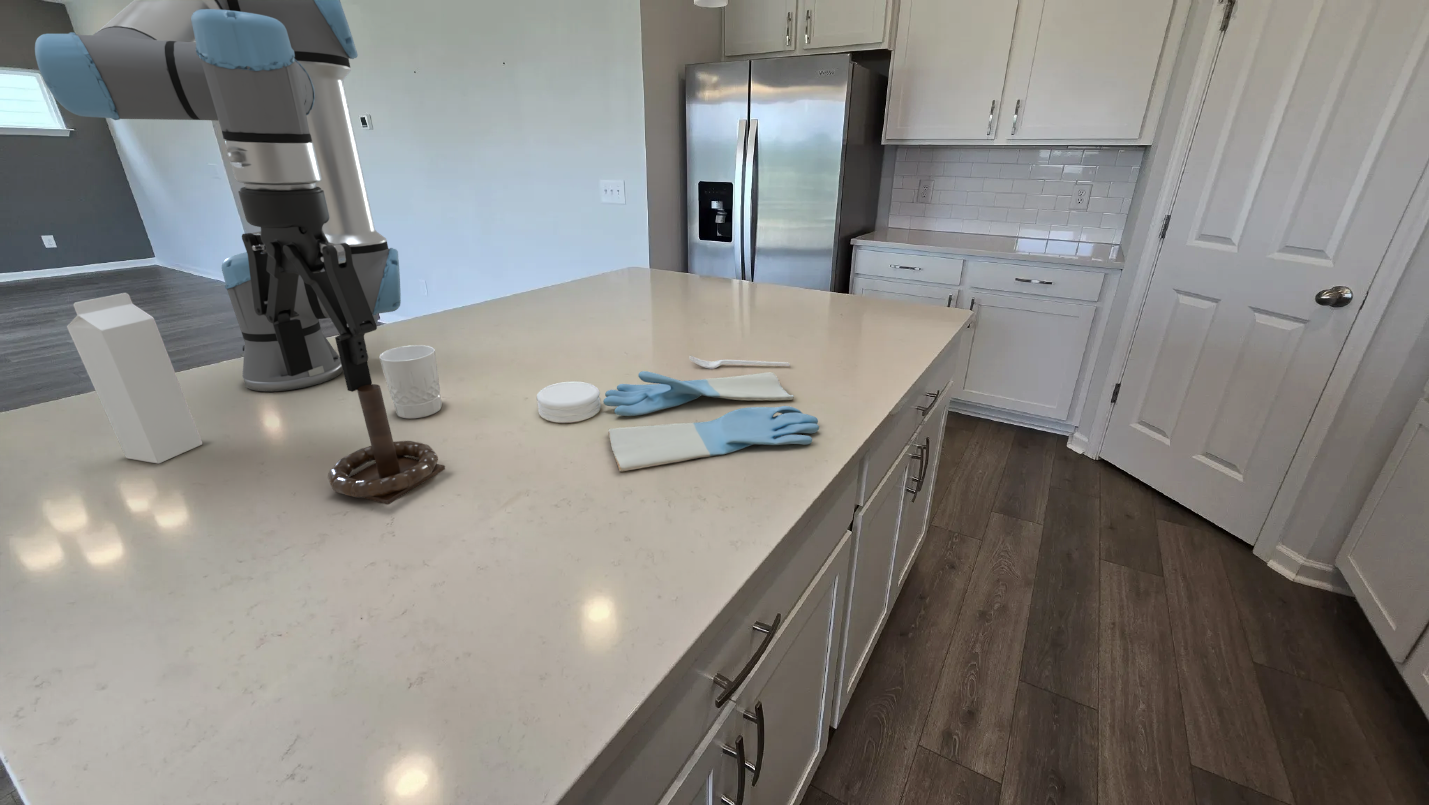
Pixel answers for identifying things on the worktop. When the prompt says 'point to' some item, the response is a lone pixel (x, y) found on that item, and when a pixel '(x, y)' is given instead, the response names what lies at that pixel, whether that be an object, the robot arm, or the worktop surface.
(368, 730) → the worktop surface
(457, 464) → the worktop surface
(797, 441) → the rubber gloves
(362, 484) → the ring
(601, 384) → the worktop surface
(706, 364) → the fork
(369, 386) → the stand
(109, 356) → the milk
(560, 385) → the white short cylinder
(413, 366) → the white cup
